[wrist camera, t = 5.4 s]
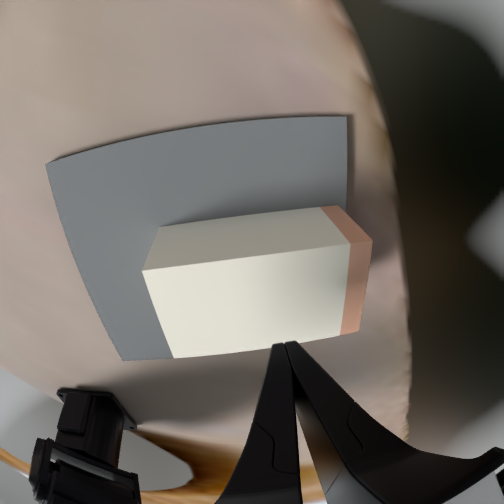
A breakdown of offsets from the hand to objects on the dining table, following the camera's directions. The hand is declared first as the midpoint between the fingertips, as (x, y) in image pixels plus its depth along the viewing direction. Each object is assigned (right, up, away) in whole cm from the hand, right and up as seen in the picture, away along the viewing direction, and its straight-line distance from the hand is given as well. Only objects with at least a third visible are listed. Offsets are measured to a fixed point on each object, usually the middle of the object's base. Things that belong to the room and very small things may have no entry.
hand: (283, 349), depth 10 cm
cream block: (-5, +2, +4) cm, 7 cm away
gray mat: (-3, +3, +6) cm, 8 cm away
